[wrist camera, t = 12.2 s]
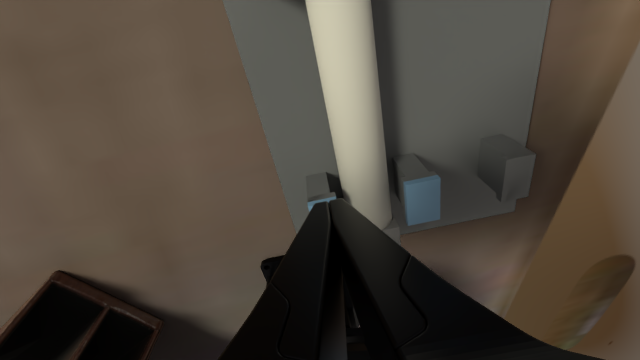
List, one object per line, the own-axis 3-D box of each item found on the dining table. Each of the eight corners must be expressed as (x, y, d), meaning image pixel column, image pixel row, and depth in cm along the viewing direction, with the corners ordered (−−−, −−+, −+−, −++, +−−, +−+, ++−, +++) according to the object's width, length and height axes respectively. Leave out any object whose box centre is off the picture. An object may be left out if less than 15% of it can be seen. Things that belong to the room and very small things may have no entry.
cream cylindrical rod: (388, 218, 22) (400, 245, 20) (347, 226, 22) (354, 254, 20) (344, -195, 12) (359, -255, 9) (267, -175, 12) (259, -228, 9)
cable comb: (302, 248, 24) (304, 291, 20) (160, -208, 12) (95, -315, 8) (508, 205, 24) (549, 242, 20) (589, -321, 11) (745, -498, 7)
